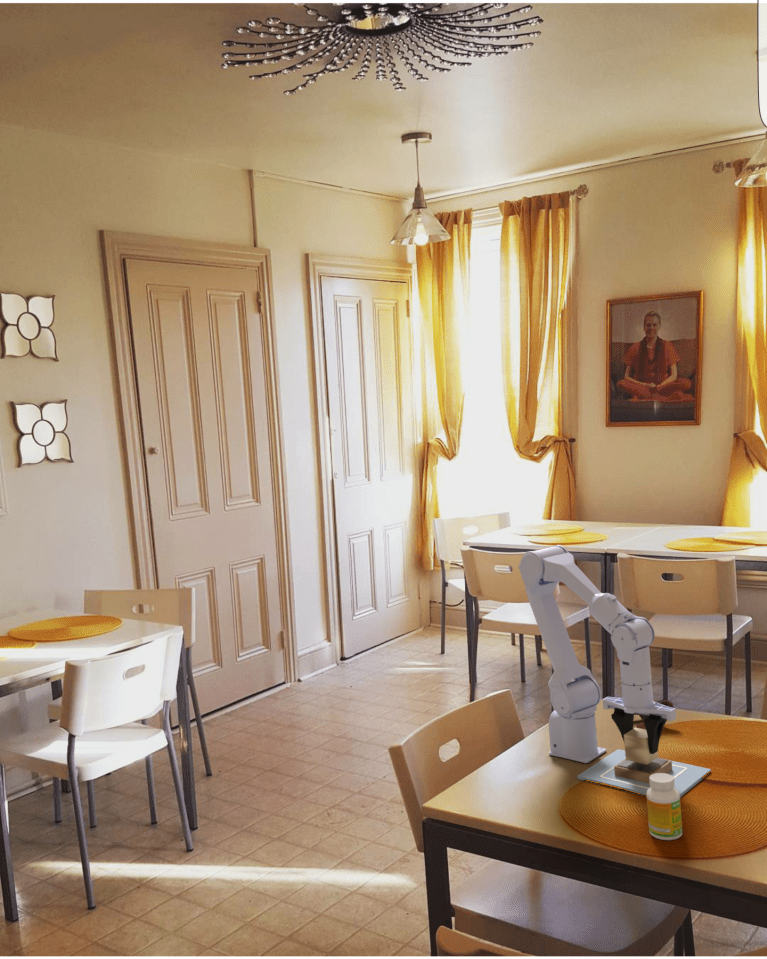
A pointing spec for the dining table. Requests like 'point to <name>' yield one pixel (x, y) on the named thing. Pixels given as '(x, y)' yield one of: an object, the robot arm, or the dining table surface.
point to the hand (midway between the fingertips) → (641, 749)
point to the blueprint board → (620, 755)
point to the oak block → (638, 746)
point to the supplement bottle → (664, 807)
